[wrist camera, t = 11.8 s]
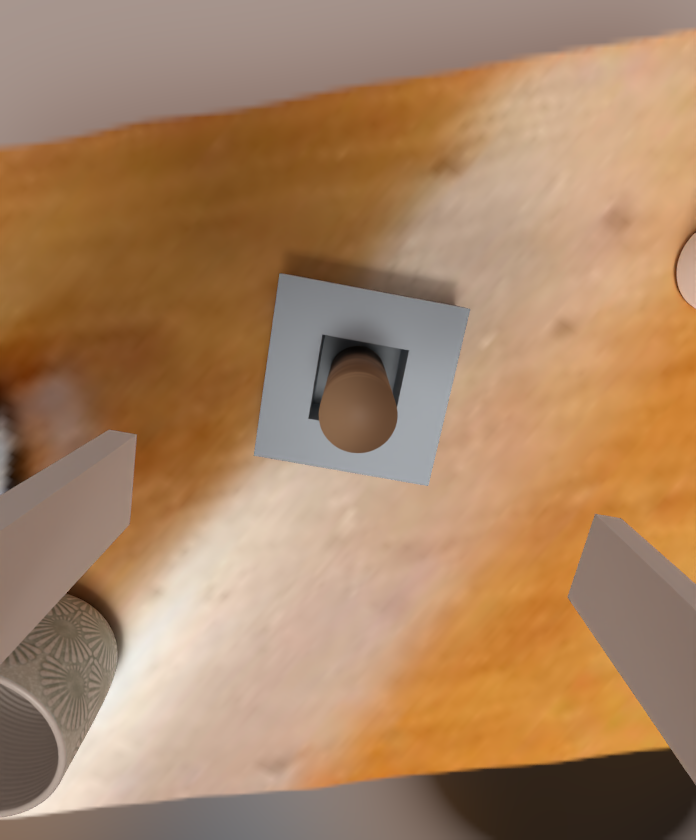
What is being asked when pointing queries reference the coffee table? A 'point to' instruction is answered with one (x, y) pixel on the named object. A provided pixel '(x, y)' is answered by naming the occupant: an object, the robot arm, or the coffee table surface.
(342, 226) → the coffee table surface
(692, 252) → the can
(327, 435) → the dowel
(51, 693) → the planter
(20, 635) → the robot arm
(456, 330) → the socket
